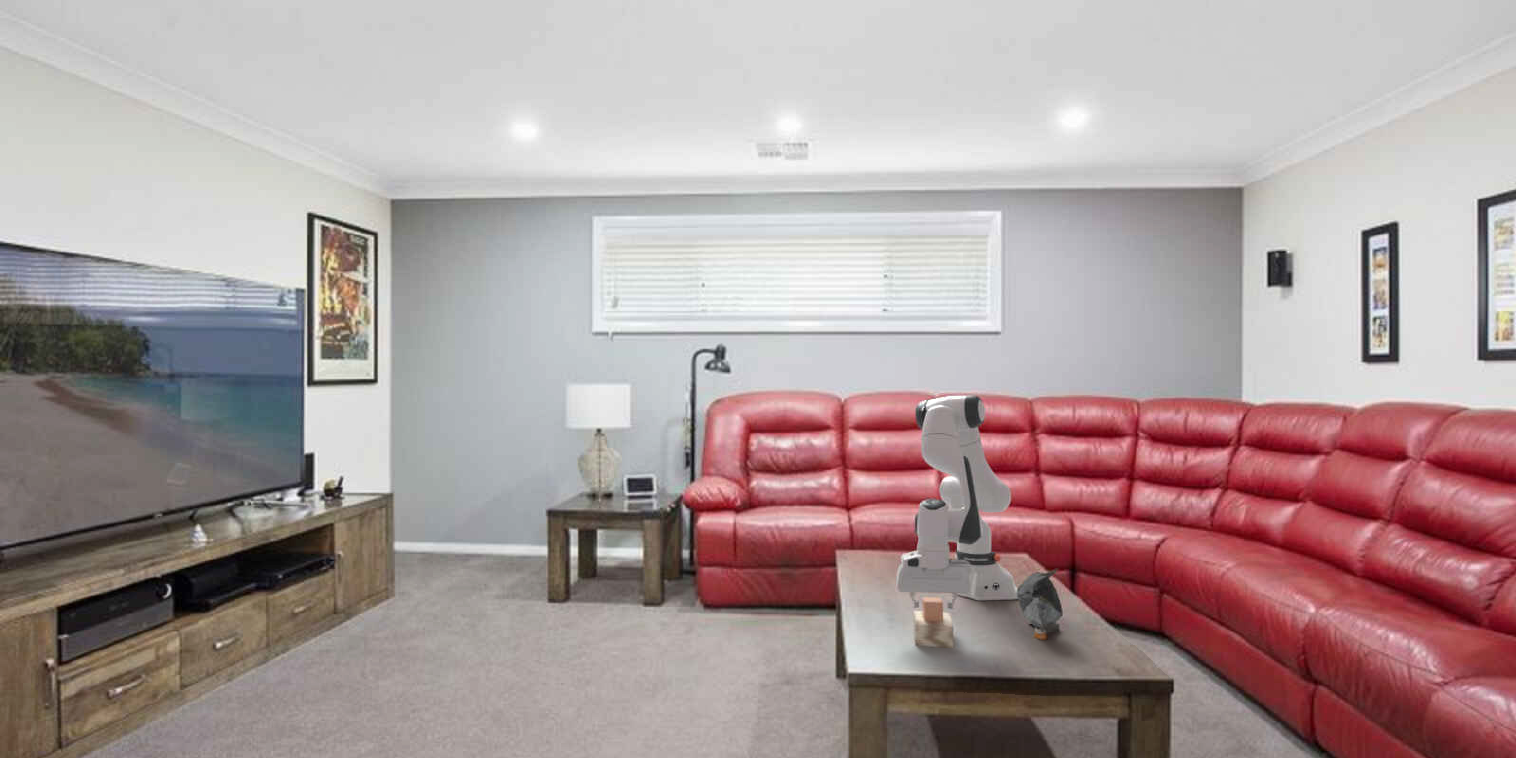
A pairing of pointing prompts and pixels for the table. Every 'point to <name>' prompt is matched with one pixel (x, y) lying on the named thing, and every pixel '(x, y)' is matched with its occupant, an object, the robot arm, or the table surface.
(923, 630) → the birch block
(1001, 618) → the table surface
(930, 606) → the terracotta cube
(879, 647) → the table surface
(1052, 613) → the grey faceted figure
